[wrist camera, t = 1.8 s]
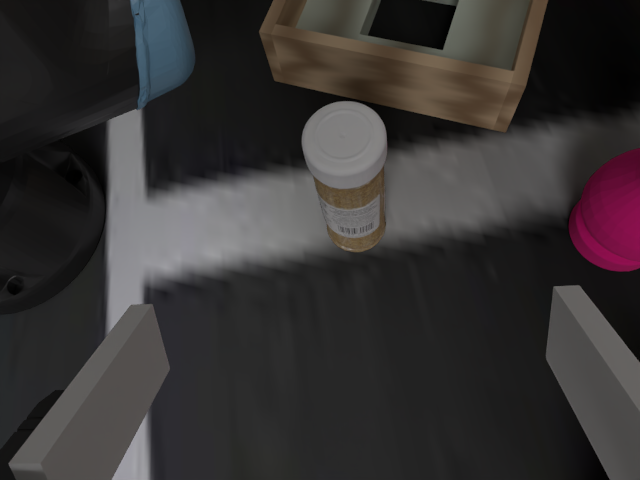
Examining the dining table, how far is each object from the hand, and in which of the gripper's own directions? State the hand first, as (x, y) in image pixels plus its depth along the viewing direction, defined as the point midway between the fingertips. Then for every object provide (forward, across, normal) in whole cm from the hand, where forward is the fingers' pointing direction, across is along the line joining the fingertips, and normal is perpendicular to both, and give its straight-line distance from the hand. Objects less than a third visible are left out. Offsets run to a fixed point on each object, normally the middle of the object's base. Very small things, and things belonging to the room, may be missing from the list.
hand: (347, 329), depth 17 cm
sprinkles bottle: (+22, 0, -6) cm, 23 cm away
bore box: (+35, +5, +7) cm, 36 cm away
